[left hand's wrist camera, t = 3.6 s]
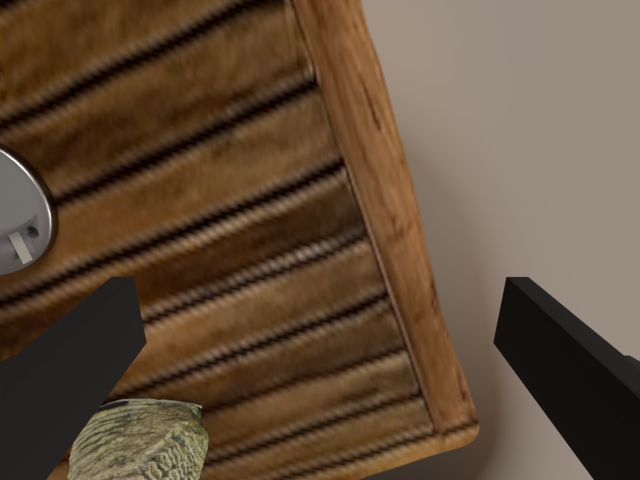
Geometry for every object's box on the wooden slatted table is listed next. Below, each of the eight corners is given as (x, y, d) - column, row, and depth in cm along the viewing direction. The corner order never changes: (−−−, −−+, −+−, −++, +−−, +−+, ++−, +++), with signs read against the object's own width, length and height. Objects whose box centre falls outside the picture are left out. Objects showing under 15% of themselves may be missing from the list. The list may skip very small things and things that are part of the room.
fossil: (226, 427, 51) (191, 548, 37) (108, 452, 53) (31, 578, 39) (202, 378, 48) (154, 490, 34) (78, 407, 50) (-17, 526, 36)
